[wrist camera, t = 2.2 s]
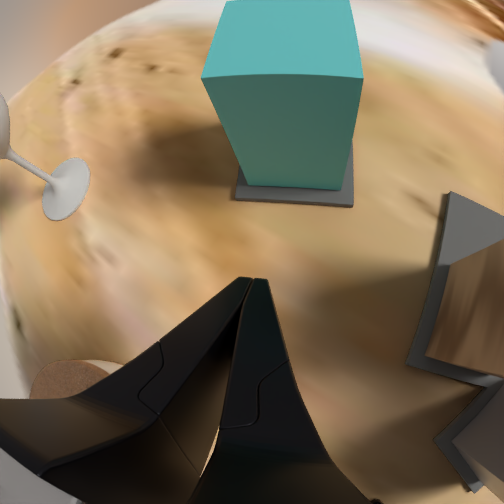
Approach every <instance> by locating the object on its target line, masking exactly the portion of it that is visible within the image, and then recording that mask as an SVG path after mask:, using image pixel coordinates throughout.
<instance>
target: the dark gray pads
mask: <svg viewBox="0 0 504 504" xmlns="http://www.w3.org/2000/svg"><path fill="white" fill-rule="evenodd" d="M235 199H236V200H237V201H257V202H277V203H295V204H311V205H325V206H338V207H351V208H352V207H353V203H354V186H353V144H352V143H351V148H350V152H349V157H348V161H347V166H346V170H345V175H344V179H343V183H342V188H341V190H329V189H314V188H297V187H278V186H253V185H248V183H247V180H246V178H245V176H244V173H243V171H242V169H241V166H239V173H238V180H237V187H236V194H235ZM502 239H504V216H502V215H500V214H498V213H496V212H494V211H492V210H490V209H488V208H486V207H484V206H482V205H480V204H478V203H476V202H474V201H472V200H470V199H468V198H465V197H463V196H461V195H459V194H457V193H454V192H452V191H450V192H449V193H448V198H447V205H446V212H445V218H444V224H443V229H442V235H441V240H440V245H439V249H438V254H437V259H436V263H435V267H434V272H433V276H432V280H431V283H430V287H429V291H428V295H427V298H426V302H425V305H424V309H423V312H422V315H421V319H420V322H419V325H418V328H417V331H416V334H415V337H414V340H413V343H412V346H411V349H410V351H409V354H408V357H407V360H406V362H405V364H406V365H409V366H413V367H416V368H419V369H423V370H426V371H429V372H433V373H436V374H440V375H443V376H447V377H450V378H454V379H457V380H461V381H465V382H468V383H472V384H476V385H480V386H484V388H483V389H482V390H481V392H480V393H479V394H478V395H477V396H476V397H475V398H474V399H473V400H472V402H471V403H470V404H469V405H468V406H467V407H466V408H465V409H464V410H463V411H462V412H461V413H460V414H459V415H458V416H457V417H456V418H455V419H454V420H453V421H452V422H451V423H450V424H449V425H448V426H447V427H446V428H445V429H444V430H443V431H442V432H441V433H440V434H438V435H437V436H436V437H435V438H434V439H433V441H434V442H435V443H436V445H437V446H438V447H439V449H440V450H441V451H442V452H443V454H444V455H445V456H446V458H447V459H448V460H449V461H450V463H451V464H452V465H453V467H454V468H455V469H456V471H457V472H458V473H459V475H460V476H461V477H462V478H463V480H464V481H465V482H466V484H467V485H468V486H469V488H470V489H471V490H472V492H473V493H474V494H475V493H476V492H477V491H478V490H479V489H480V488H481V487H482V486H484V485H483V484H482V483H481V482H480V480H479V479H478V478H477V476H476V475H475V473H474V472H473V471H472V469H471V468H470V466H469V465H468V464H467V462H466V461H465V459H464V458H463V457H462V455H461V454H460V453H459V451H458V450H457V448H456V447H455V446H454V444H453V443H452V442H451V441H452V440H453V439H454V438H455V437H456V436H457V435H458V434H459V433H460V432H461V431H462V430H463V429H464V428H465V427H466V426H467V425H468V424H469V423H470V422H471V421H472V420H473V419H474V418H475V417H476V416H477V415H478V414H479V412H480V411H481V410H482V409H483V408H484V407H485V406H486V405H487V403H488V402H489V401H490V400H491V399H492V398H493V397H494V395H495V394H496V393H497V392H498V391H499V389H500V388H501V387H502V386H503V384H504V378H500V377H496V376H492V375H488V374H484V373H481V372H477V371H474V370H470V369H467V368H464V367H460V366H457V365H454V364H450V363H447V362H444V361H440V360H437V359H434V358H431V357H427V356H424V355H425V353H426V350H427V347H428V344H429V341H430V338H431V335H432V332H433V329H434V325H435V322H436V319H437V315H438V312H439V308H440V305H441V301H442V297H443V294H444V290H445V286H446V282H447V277H448V273H449V268H450V264H452V263H454V262H456V261H458V260H460V259H463V258H465V257H467V256H469V255H471V254H473V253H475V252H478V251H480V250H482V249H484V248H486V247H488V246H490V245H492V244H494V243H496V242H498V241H500V240H502Z"/></svg>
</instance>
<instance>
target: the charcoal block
mask: <svg viewBox="0 0 504 504" xmlns="http://www.w3.org/2000/svg"><path fill="white" fill-rule="evenodd" d="M451 442H452V443H453V444H454V446H455V447H456V448H457V450H458V451H459V453H460V454H461V455H462V457H463V458H464V459H465V461H466V462H467V464H468V465H469V466H470V468H471V469H472V471H473V472H474V473H475V475H476V476H477V478H478V479H479V480H480V482H481V483H482V484H483V485H484V486H486V487H487V488H488V489H489V490H490V491H491V492H492V493H494V494H495V495H496V496H497V497H498V498H499V499H500V500H501V501H503V502H504V384H503V386H502V387H501V388H500V389H499V391H498V392H497V393H496V394H495V395H494V397H493V398H492V399H491V400H490V401H489V402H488V403H487V405H486V406H485V407H484V408H483V409H482V410H481V411H480V412H479V414H478V415H477V416H476V417H475V418H474V419H473V420H472V421H471V422H470V423H469V424H468V425H467V426H466V427H465V428H464V429H463V430H462V431H461V432H460V433H459V434H458V435H457V436H456V437H455V438H454V439H453V440H452V441H451Z"/></svg>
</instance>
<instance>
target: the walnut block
mask: <svg viewBox="0 0 504 504" xmlns="http://www.w3.org/2000/svg"><path fill="white" fill-rule="evenodd" d="M424 356H427V357H431V358H434V359H437V360H440V361H444V362H447V363H450V364H454V365H457V366H460V367H464V368H467V369H470V370H474V371H477V372H481V373H484V374H488V375H492V376H496V377H500V378H504V239H502V240H500V241H498V242H496V243H494V244H492V245H490V246H488V247H486V248H484V249H482V250H480V251H478V252H475V253H473V254H471V255H469V256H467V257H465V258H463V259H460V260H458V261H456V262H454V263H452V264H450V268H449V273H448V277H447V282H446V286H445V290H444V294H443V297H442V301H441V305H440V308H439V312H438V315H437V319H436V322H435V325H434V329H433V332H432V335H431V338H430V341H429V344H428V347H427V350H426V353H425V355H424Z"/></svg>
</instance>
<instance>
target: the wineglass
mask: <svg viewBox="0 0 504 504" xmlns="http://www.w3.org/2000/svg"><path fill="white" fill-rule="evenodd" d="M0 159H8V160H11V161H14V162H15V163H17V164H18V165H20V166H22V167H23V168H25V169H27V170H28V171H30V172H32V173H33V174H35V175H37V176H38V177H40V178H42V179H43V180H45V181H47V183H46V186H45V188H44V192H43V198H42V205H43V210H44V213H45V214H46V216H47V217H48V218H50V219H51V220H55V221H60V220H64V219H66V218H67V217H69V216H70V215H71V214H73V213H74V212H75V211H76V210H77V208H78V207H79V206H80V204H81V203H82V201H83V200H84V198H85V195H86V193H87V191H88V187H89V183H90V170H89V167H88V165H87V163H86V162H85V161H84V160H82V159H80V158H71V159H68V160H66V161H64V162H63V163H61V164H60V165H59V166H58V167H57V168H56V169H55V170H54V171H53V173H52V174H51V176H50V175H49V174H47V173H46V172H44V171H42V170H41V169H39V168H38V167H36V166H35V165H33V164H31V163H30V162H28V161H27V160H25V159H24V158H22V157H21V156H19V155H17V154H16V153H15V152H14V151H13V150H12V149H11V146H10V118H9V111H8V106H7V103H6V101H5V99H4V97H3V96H2V94H1V93H0Z"/></svg>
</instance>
